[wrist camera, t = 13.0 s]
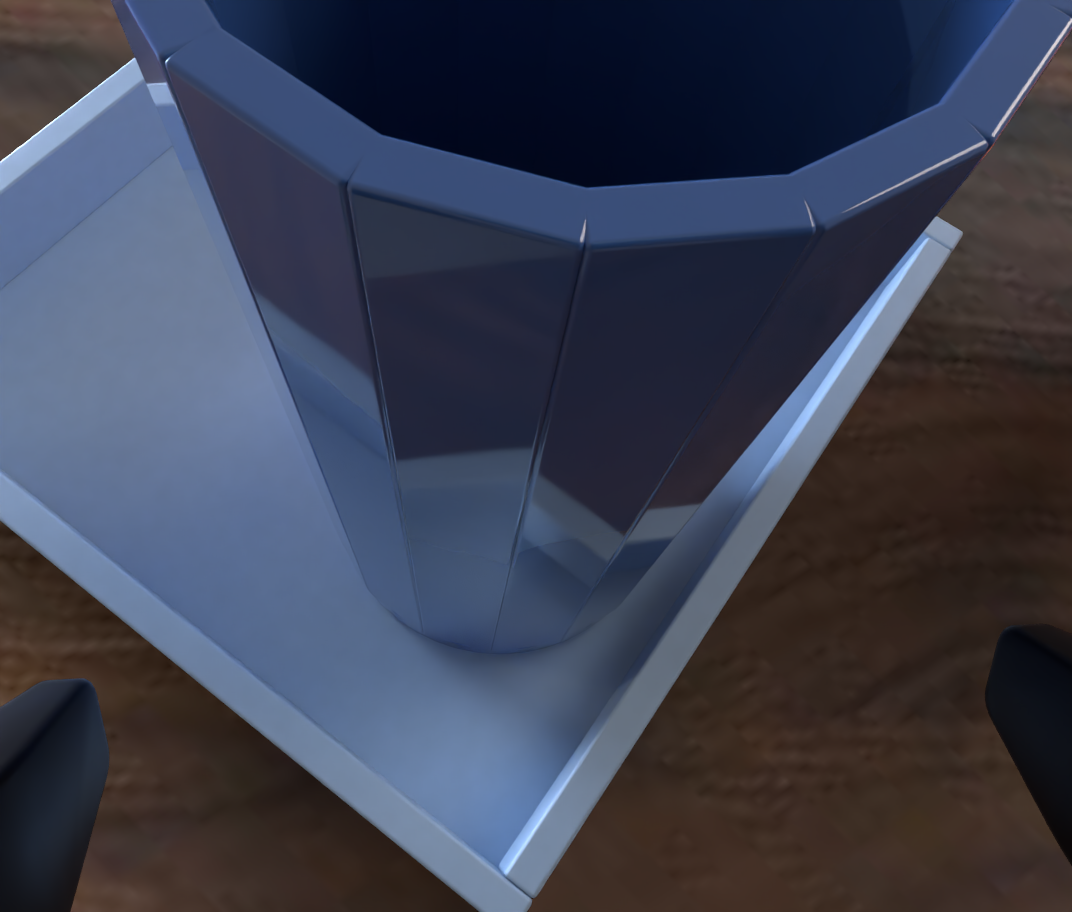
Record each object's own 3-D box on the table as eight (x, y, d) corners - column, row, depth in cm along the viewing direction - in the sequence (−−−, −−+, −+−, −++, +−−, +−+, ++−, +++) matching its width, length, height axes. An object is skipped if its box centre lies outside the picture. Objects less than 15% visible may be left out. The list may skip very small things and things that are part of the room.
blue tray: (502, 917, 15) (510, 937, 13) (-136, 398, 18) (-227, 335, 16) (907, 297, 21) (965, 231, 19) (379, -31, 24) (370, -127, 21)
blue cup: (686, 630, 17) (1251, 196, 5) (350, 677, 16) (46, 290, 4) (625, 339, 19) (908, -438, 7) (328, 367, 18) (90, -466, 6)
